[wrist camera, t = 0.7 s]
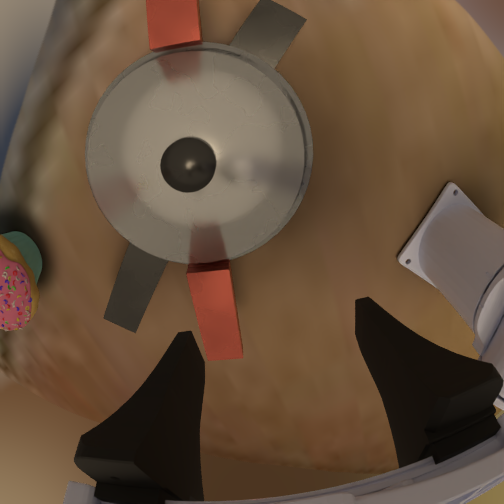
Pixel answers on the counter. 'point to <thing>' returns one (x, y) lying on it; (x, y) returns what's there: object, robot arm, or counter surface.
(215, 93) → the lid
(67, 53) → the counter surface
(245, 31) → the pot
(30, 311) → the cupcake
